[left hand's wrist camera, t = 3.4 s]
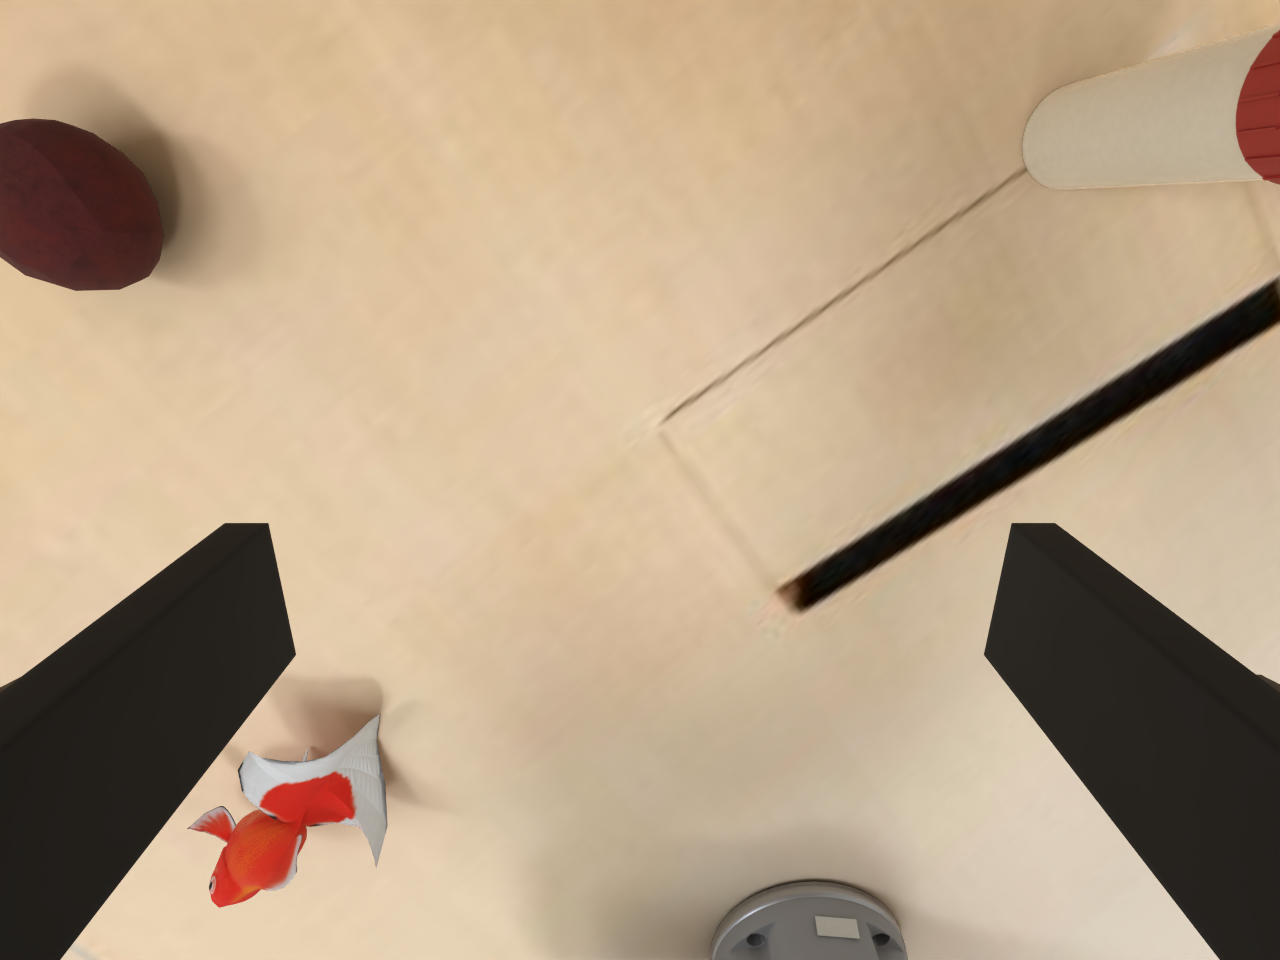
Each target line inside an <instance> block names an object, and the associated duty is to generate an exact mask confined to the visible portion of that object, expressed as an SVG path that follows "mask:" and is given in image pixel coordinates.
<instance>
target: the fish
mask: <svg viewBox="0 0 1280 960" xmlns="http://www.w3.org/2000/svg"><path fill="white" fill-rule="evenodd" d="M379 718H380V714H378V715H377V716H376V717H374V718H373V719H371V720H370V721H369V722H368V723H367V724H366V725H365V726H364V727H363V728H362V729H361V730H360V731H359V732H358V733H357V734H356V735H355V736H354V737H353V738H351V739H350V740H348V741H347V742H346V743H344V744H343V745H342V746H340V747H339V748H338V749H336V750H335V751H333V752H332V753H330V754H329V755H327V756H326V757H324V758H320V759H315V760H310V761H306V758H307V754H308V749H307V751H306V753H305V756H304V758H303V760H302V761H279V760H272V759H266V758H261V757H259V756H257V755H255V754H253V753H251V752H248V754H247V756H246V757H245V759H244V761H243V762H242V764H241V766H240V767H239V769H238V773H239V778H240V783H241V788H242V791H243V793H244V794H245V795H246V797H247V798H248V799H249V801H250V802H252V803H253V804H254V805H255V806H256V807H258V808H259V810H256V811H253V812H251V813H250V814H248V815H247V816H245V817H244V818H243V819H242V820H241V821H240V822H239V823H238V824H237V825H236V824H235V822H234V820H233V818H232V816H231V814H230V813H229V812H228V810H227V809H226V808H225V807H224V806H220V807H217V808H215V809H213V810H211V811H209V812H207V813H205V814H204V815H203V816H201V817H200V818H199V819H198V820H197V821H196V822H195V823H194V824H192V825H191V826H190V827H189V828H190V829H193V830H196V831H200V832H206V833H208V834H211V835H215V836H217V837H218V838H220V839H222V840H223V841H225V842H227V843H228V844H227V846H226V847H224V848H223V850H222V852H221V855H220V858H219V860H218V863H217V865H216V867H215V870H214V872H213V874H212V877H211V880H210V885H209V891H210V894H211V899H212V901H213V902H214V903H215V904H216V905H217V906H218V907H219V908H220V907H224V906H227V905H233V904H237V903H240V902H243V901H246V900H248V899H250V898H251V897H253V896H254V895H255V894H256V893H258V892H259V891H260V890H262V889H263V890H266V891H274V890H278V889H281V888H284V887H285V886H286V885H287V884H288V883H290V881H291V880H292V878H293V877H294V875H295V874H296V872H297V865H296V861H297V855H298V854H299V852H300V850H301V849H302V847H303V845H304V842H305V840H306V837H307V829H306V826H310V827H312V826H319V825H326V824H333V823H340V824H346V825H354V826H358V827H359V828H360V829H361V830H362V831H363V833H364V834H365V836H366V838H367V839H368V841H369V844H370V847H371V849H372V852H373V856H374V859H375V864H376V867H377V863H378V859H379V855H380V852H381V848H382V844H383V840H384V837H385V833H386V829H387V809H386V791H385V781H384V776H383V771H382V766H381V760H380V755H379V749H378V743H377V734H378V728H379ZM189 828H188V829H189Z"/></svg>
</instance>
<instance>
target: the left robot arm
mask: <svg viewBox="0 0 1280 960" xmlns="http://www.w3.org/2000/svg"><path fill="white" fill-rule="evenodd" d="M295 655H296V652H295V648H294V643H293V638H292V633H291V629H290V624H289V619H288V614H287V610H286V605H285V600H284V596H283V591H282V586H281V581H280V577H279V572H278V567H277V562H276V558H275V553H274V548H273V543H272V539H271V534H270V529H269V524H268V523H225V524H223V525H222V526H221V527H219V528H218V529H217V530H215V531H214V532H213V533H211V534H210V535H209V536H207V537H206V538H205V539H203V540H202V541H201V542H199V543H198V544H197V545H195V546H194V547H193V548H191V549H190V550H189V551H187V552H186V553H185V554H183V555H182V556H181V557H179V558H178V559H177V560H175V561H174V562H173V563H172V564H170V565H169V566H168V567H166V568H165V569H164V570H162V571H161V572H160V573H158V574H157V575H156V576H154V577H153V578H152V579H150V580H149V581H148V582H146V583H145V584H144V585H142V586H141V587H140V588H138V589H137V590H136V591H134V592H133V593H132V594H130V595H129V596H128V597H126V598H125V599H124V600H122V601H121V602H120V603H118V604H117V605H116V606H115V607H113V608H112V609H111V610H109V611H108V612H107V613H105V614H104V615H103V616H101V617H100V618H99V619H97V620H96V621H95V622H93V623H92V624H91V625H89V626H88V627H87V628H85V629H84V630H83V631H81V632H80V633H79V634H77V635H76V636H75V637H73V638H72V639H71V640H69V641H68V642H67V643H65V644H64V645H63V646H61V647H60V648H59V649H58V650H56V651H55V652H54V653H52V654H51V655H50V656H48V657H47V658H46V659H44V660H43V661H42V662H40V663H39V664H38V665H36V666H35V667H34V668H32V669H31V670H30V671H28V672H27V673H26V674H24V675H23V676H22V677H20V678H18V679H16V680H14V681H12V682H10V683H8V684H6V685H4V686H2V687H0V960H60V959H61V958H62V957H63V955H64V954H65V953H66V951H67V950H68V949H69V948H70V946H71V945H72V944H73V942H74V941H75V940H76V939H77V937H78V936H79V935H80V933H81V932H82V931H83V930H84V928H85V927H86V926H87V924H88V923H89V922H90V921H91V919H92V918H93V917H94V915H95V914H96V913H97V911H98V910H99V909H100V908H101V906H102V905H103V904H104V902H105V901H106V900H107V899H108V897H109V896H110V895H111V893H112V892H113V891H114V889H115V888H116V887H117V886H118V884H119V883H120V882H121V880H122V879H123V878H124V877H125V875H126V874H127V873H128V871H129V870H130V869H131V868H132V866H133V865H134V864H135V862H136V861H137V860H138V858H139V857H140V856H141V855H142V853H143V852H144V851H145V849H146V848H147V847H148V846H149V844H150V843H151V842H152V840H153V839H154V838H155V836H156V835H157V834H158V833H159V831H160V830H161V829H162V827H163V826H164V825H165V824H166V822H167V821H168V820H169V818H170V817H171V816H172V814H173V813H174V812H175V811H176V809H177V808H178V807H179V805H180V804H181V803H182V802H183V800H184V799H185V798H186V796H187V795H188V794H189V793H190V791H191V790H192V789H193V787H194V786H195V785H196V783H197V782H198V781H199V780H200V778H201V777H202V776H203V774H204V773H205V772H206V771H207V769H208V768H209V767H210V765H211V764H212V763H213V761H214V760H215V759H216V758H217V756H218V755H219V754H220V752H221V751H222V750H223V749H224V747H225V746H226V745H227V743H228V742H229V741H230V740H231V738H232V737H233V736H234V734H235V733H236V732H237V730H238V729H239V728H240V727H241V725H242V724H243V723H244V721H245V720H246V719H247V718H248V716H249V715H250V714H251V712H252V711H253V710H254V708H255V707H256V706H257V705H258V703H259V702H260V701H261V699H262V698H263V697H264V696H265V694H266V693H267V692H268V690H269V689H270V688H271V686H272V685H273V684H274V683H275V681H276V680H277V679H278V677H279V676H280V675H281V674H282V672H283V671H284V670H285V668H286V667H287V666H288V665H289V663H290V662H291V661H292V659H293V658H294V657H295ZM984 655H985V657H986V658H987V659H988V661H989V662H990V663H991V665H992V666H993V667H994V668H995V670H996V671H997V672H998V674H999V675H1000V676H1001V677H1002V679H1003V680H1004V681H1005V683H1006V684H1007V685H1008V686H1009V688H1010V689H1011V690H1012V692H1013V693H1014V694H1015V696H1016V697H1017V698H1018V699H1019V701H1020V702H1021V703H1022V705H1023V706H1024V707H1025V708H1026V710H1027V711H1028V712H1029V714H1030V715H1031V716H1032V718H1033V719H1034V720H1035V721H1036V723H1037V724H1038V725H1039V727H1040V728H1041V729H1042V730H1043V732H1044V733H1045V734H1046V736H1047V737H1048V738H1049V740H1050V741H1051V742H1052V743H1053V745H1054V746H1055V747H1056V749H1057V750H1058V751H1059V752H1060V754H1061V755H1062V756H1063V758H1064V759H1065V760H1066V761H1067V763H1068V764H1069V765H1070V767H1071V768H1072V769H1073V771H1074V772H1075V773H1076V774H1077V776H1078V777H1079V778H1080V780H1081V781H1082V782H1083V783H1084V785H1085V786H1086V787H1087V789H1088V790H1089V791H1090V793H1091V794H1092V795H1093V796H1094V798H1095V799H1096V800H1097V802H1098V803H1099V804H1100V805H1101V807H1102V808H1103V809H1104V811H1105V812H1106V813H1107V814H1108V816H1109V817H1110V818H1111V820H1112V821H1113V822H1114V824H1115V825H1116V826H1117V827H1118V829H1119V830H1120V831H1121V833H1122V834H1123V835H1124V836H1125V838H1126V839H1127V840H1128V842H1129V843H1130V844H1131V846H1132V847H1133V848H1134V849H1135V851H1136V852H1137V853H1138V855H1139V856H1140V857H1141V858H1142V860H1143V861H1144V862H1145V864H1146V865H1147V866H1148V868H1149V869H1150V870H1151V871H1152V873H1153V874H1154V875H1155V877H1156V878H1157V879H1158V880H1159V882H1160V883H1161V884H1162V886H1163V887H1164V888H1165V889H1166V891H1167V892H1168V893H1169V895H1170V896H1171V897H1172V899H1173V900H1174V901H1175V902H1176V904H1177V905H1178V906H1179V908H1180V909H1181V910H1182V911H1183V913H1184V914H1185V915H1186V917H1187V918H1188V919H1189V921H1190V922H1191V923H1192V924H1193V926H1194V927H1195V928H1196V930H1197V931H1198V932H1199V933H1200V935H1201V936H1202V937H1203V939H1204V940H1205V941H1206V942H1207V944H1208V945H1209V946H1210V948H1211V949H1212V950H1213V952H1214V953H1215V954H1216V955H1217V957H1218V958H1219V959H1220V960H1280V684H1278V683H1276V682H1274V681H1272V680H1270V679H1268V678H1266V677H1264V676H1262V675H1256V674H1254V673H1253V672H1252V671H1250V670H1249V669H1248V668H1246V667H1245V666H1244V665H1242V664H1241V663H1240V662H1238V661H1237V660H1236V659H1234V658H1233V657H1232V656H1230V655H1229V654H1228V653H1226V652H1225V651H1224V650H1222V649H1221V648H1220V647H1219V646H1217V645H1216V644H1215V643H1213V642H1212V641H1211V640H1209V639H1208V638H1207V637H1205V636H1204V635H1203V634H1201V633H1200V632H1199V631H1197V630H1196V629H1195V628H1193V627H1192V626H1191V625H1189V624H1188V623H1187V622H1185V621H1184V620H1183V619H1181V618H1180V617H1179V616H1177V615H1176V614H1175V613H1173V612H1172V611H1171V610H1169V609H1168V608H1167V607H1165V606H1164V605H1163V604H1162V603H1160V602H1159V601H1158V600H1156V599H1155V598H1154V597H1152V596H1151V595H1150V594H1148V593H1147V592H1146V591H1144V590H1143V589H1142V588H1140V587H1139V586H1138V585H1136V584H1135V583H1134V582H1132V581H1131V580H1130V579H1128V578H1127V577H1126V576H1124V575H1123V574H1122V573H1120V572H1119V571H1118V570H1116V569H1115V568H1114V567H1112V566H1111V565H1110V564H1108V563H1107V562H1106V561H1105V560H1103V559H1102V558H1101V557H1099V556H1098V555H1097V554H1095V553H1094V552H1093V551H1091V550H1090V549H1089V548H1087V547H1086V546H1085V545H1083V544H1082V543H1081V542H1079V541H1078V540H1077V539H1075V538H1074V537H1073V536H1071V535H1070V534H1069V533H1067V532H1066V531H1065V530H1063V529H1062V528H1061V527H1059V526H1058V525H1057V524H1055V523H1012V524H1011V529H1010V534H1009V539H1008V543H1007V548H1006V553H1005V558H1004V562H1003V567H1002V572H1001V577H1000V581H999V586H998V591H997V595H996V600H995V605H994V610H993V614H992V619H991V624H990V629H989V633H988V638H987V643H986V648H985V652H984ZM711 960H908V957H907V952H906V948H905V944H904V941H903V938H902V935H901V932H900V929H899V927H898V924H897V922H896V920H895V918H894V917H893V915H892V914H891V912H890V911H889V910H888V909H887V908H886V907H885V906H884V905H883V904H882V903H881V902H880V901H878V900H877V899H876V898H874V897H872V896H871V895H869V894H867V893H865V892H863V891H861V890H858V889H856V888H853V887H850V886H846V885H842V884H837V883H830V882H798V883H791V884H785V885H781V886H777V887H774V888H771V889H768V890H765V891H763V892H760V893H758V894H756V895H754V896H752V897H750V898H748V899H747V900H745V901H743V902H742V903H741V904H739V905H738V906H737V907H735V908H734V909H733V910H732V911H731V912H730V913H729V914H728V915H727V916H726V917H725V918H724V919H723V921H722V922H721V923H720V925H719V927H718V928H717V930H716V932H715V935H714V937H713V941H712V945H711Z"/></svg>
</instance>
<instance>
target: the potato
mask: <svg viewBox="0 0 1280 960" xmlns="http://www.w3.org/2000/svg"><path fill="white" fill-rule="evenodd" d="M163 236H164V235H163V230H162V224H161V219H160V213H159V208H158V203H157V201H156V199H155V197H154V195H153V193H152V191H151V189H150V187H149V185H148V183H147V181H146V179H145V177H144V174H143V172H142V171H141V170H140V169H138V168H137V167H136V166H135V165H134V164H133V163H132V162H131V161H130V160H129V159H128V158H127V157H126V156H125V155H124V154H123V153H122V152H120V151H119V150H117V149H116V148H114V147H113V146H111V145H110V144H108V143H107V142H105V141H104V140H102V139H101V138H99V137H98V136H96V135H95V134H93V133H91V132H88V131H85V130H83V129H80V128H78V127H75V126H72V125H69V124H66V123H63V122H59V121H56V120H45V119H23V120H14V121H9V122H5V123H1V124H0V257H1V258H2V259H4V260H5V261H6V262H8V263H9V264H11V265H12V266H13V267H15V268H16V269H17V270H19V271H20V272H22V273H23V274H24V275H26V276H29V277H33V278H36V279H39V280H43V281H46V282H49V283H52V284H56V285H59V286H62V287H65V288H69V289H72V290H75V291H82V290H120V289H122V288H124V287H127V286H129V285H131V284H133V283H136V282H138V281H140V280H142V279H144V278H147V277H149V275H150V274H151V272H152V271H153V269H154V267H155V266H156V264H157V263H158V261H159V260H160V255H161V249H162V242H163Z"/></svg>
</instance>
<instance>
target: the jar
mask: <svg viewBox="0 0 1280 960" xmlns="http://www.w3.org/2000/svg"><path fill="white" fill-rule="evenodd" d="M1279 30H1280V22H1279V23H1276V24H1273V25H1269V26H1266V27H1262V28H1259V29H1256V30H1252V31H1249V32H1245V33H1242V34H1238V35H1235V36H1232V37H1228V38H1225V39H1221V40H1218V41H1215V42H1211V43H1208V44H1204V45H1201V46H1198V47H1194V48H1191V49H1187V50H1184V51H1181V52H1177V53H1174V54H1170V55H1167V56H1163V57H1160V58H1157V59H1153V60H1150V61H1146V62H1143V63H1140V64H1136V65H1133V66H1129V67H1126V68H1123V69H1119V70H1116V71H1112V72H1109V73H1106V74H1102V75H1099V76H1095V77H1092V78H1088V79H1085V80H1082V81H1078V82H1075V83H1071V84H1068V85H1065V86H1063V87H1061V88H1059V89H1057V90H1055V91H1054V92H1052V93H1051V94H1050V95H1048V96H1047V97H1046V98H1045V99H1044V100H1043V101H1042V102H1041V103H1040V104H1039V105H1038V106H1037V108H1036V109H1035V111H1034V112H1033V113H1032V115H1031V117H1030V119H1029V121H1028V123H1027V126H1026V129H1025V132H1024V136H1023V144H1022V152H1023V159H1024V163H1025V165H1026V168H1027V170H1028V172H1029V173H1030V175H1031V176H1032V177H1033V178H1034V179H1035V180H1036V181H1037V182H1038V183H1040V184H1041V185H1043V186H1045V187H1047V188H1050V189H1055V190H1075V189H1096V188H1117V187H1138V186H1159V185H1180V184H1201V183H1223V182H1244V181H1265V180H1263V179H1262V178H1263V177H1261V176H1260V175H1259V174H1257V173H1256V172H1255V171H1254V170H1253V169H1252V168H1251V167H1250V166H1249V165H1248V163H1247V162H1245V160H1244V159H1245V158H1244V157H1243V155H1242V152H1241V150H1240V147H1239V144H1238V140H1237V135H1236V110H1237V104H1238V99H1239V95H1240V92H1241V88H1242V86H1243V83H1244V81H1245V78H1246V76H1247V74H1248V72H1249V70H1250V67H1251V65H1252V64H1253V62H1254V61H1255V59H1256V58H1257V56H1258V55H1259V53H1260V52H1261V50H1262V49H1263V48H1264V46H1265V45H1266V44H1267V43H1268V41H1269V40H1270V39H1271V38H1272V35H1273V34H1274V33H1277V32H1278V31H1279Z"/></svg>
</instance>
